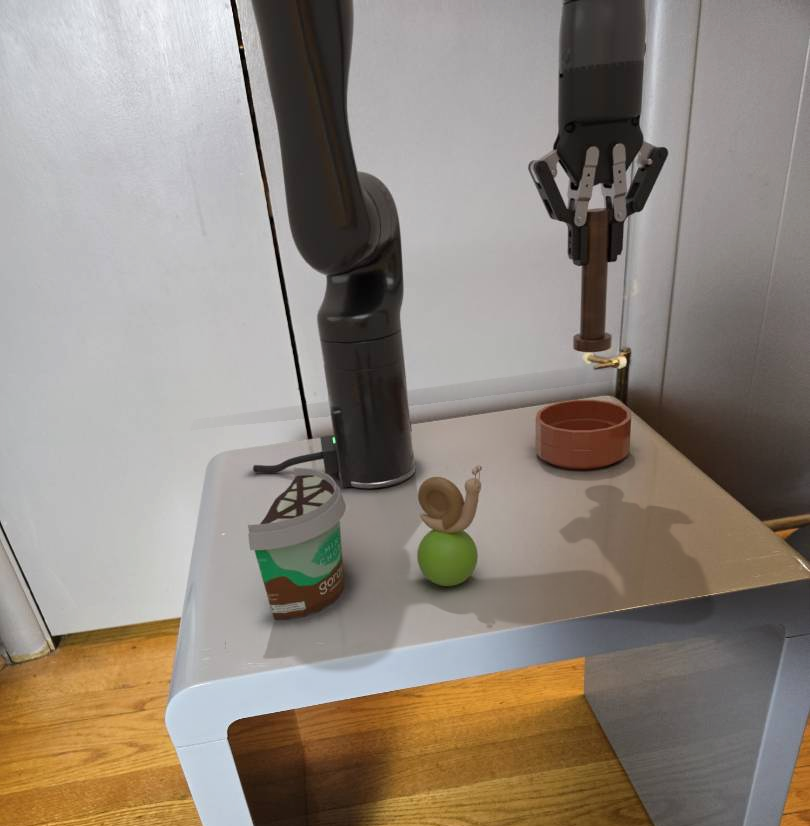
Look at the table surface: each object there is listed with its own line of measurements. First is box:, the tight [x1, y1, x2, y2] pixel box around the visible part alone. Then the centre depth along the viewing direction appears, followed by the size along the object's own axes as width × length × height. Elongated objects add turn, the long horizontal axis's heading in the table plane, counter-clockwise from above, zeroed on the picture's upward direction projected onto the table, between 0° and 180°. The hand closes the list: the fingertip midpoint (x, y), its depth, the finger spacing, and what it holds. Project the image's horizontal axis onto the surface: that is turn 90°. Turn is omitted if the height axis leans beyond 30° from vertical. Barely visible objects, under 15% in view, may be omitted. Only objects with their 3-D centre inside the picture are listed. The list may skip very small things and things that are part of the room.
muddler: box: [572, 207, 613, 353], centre depth 76 cm, size 4×4×14 cm
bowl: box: [535, 399, 632, 470], centre depth 89 cm, size 11×11×5 cm
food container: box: [247, 467, 347, 620], centre depth 66 cm, size 12×6×10 cm, turn 168°
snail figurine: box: [416, 464, 483, 587], centre depth 65 cm, size 5×6×12 cm
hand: (594, 262), depth 75 cm, fingers closed on muddler, 2 cm apart
